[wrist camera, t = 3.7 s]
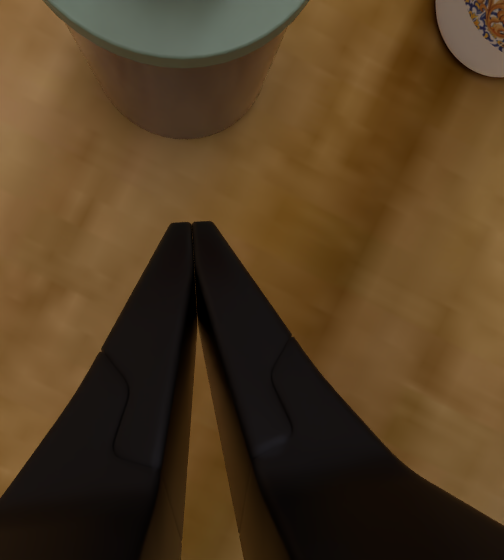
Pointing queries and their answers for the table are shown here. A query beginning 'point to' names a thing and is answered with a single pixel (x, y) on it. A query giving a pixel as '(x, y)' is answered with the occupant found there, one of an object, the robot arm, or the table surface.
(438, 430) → the table surface
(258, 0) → the travel cup
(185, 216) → the table surface
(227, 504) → the table surface
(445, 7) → the bath foam
